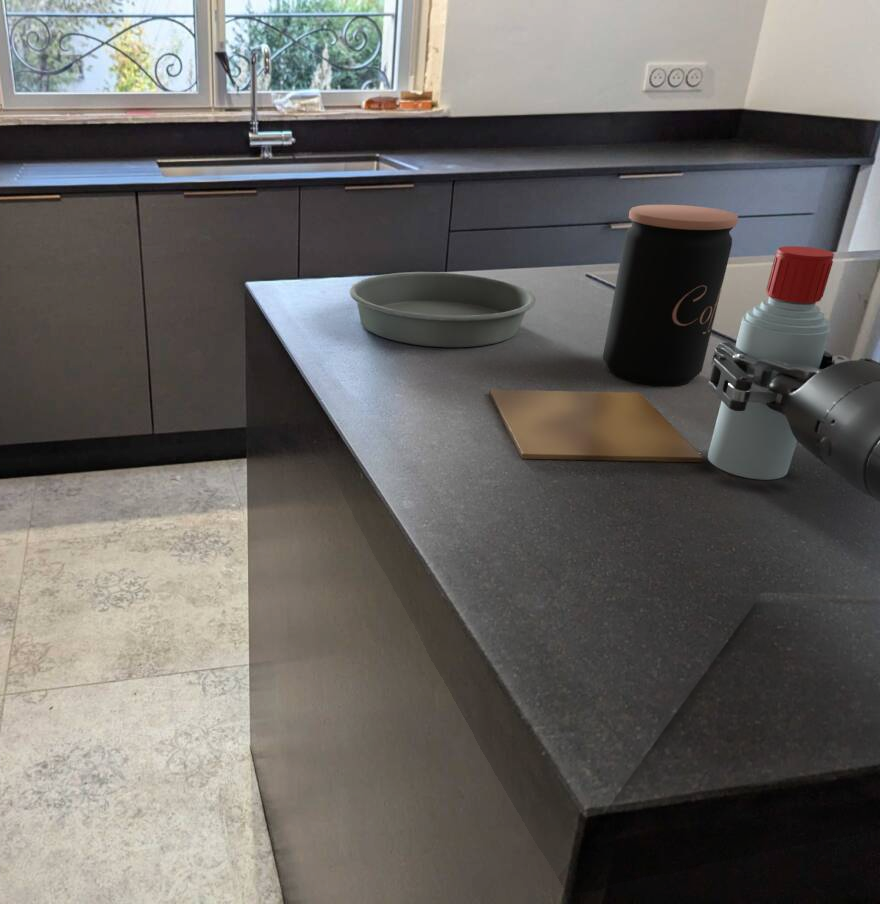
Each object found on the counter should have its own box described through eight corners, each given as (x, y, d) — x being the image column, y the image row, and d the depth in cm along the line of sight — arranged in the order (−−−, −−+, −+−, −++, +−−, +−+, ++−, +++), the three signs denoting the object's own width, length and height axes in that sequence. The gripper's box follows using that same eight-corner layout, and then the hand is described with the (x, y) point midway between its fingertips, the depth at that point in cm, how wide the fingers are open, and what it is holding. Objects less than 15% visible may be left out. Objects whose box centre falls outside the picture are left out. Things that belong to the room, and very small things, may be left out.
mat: (638, 396, 88) (639, 392, 88) (701, 462, 74) (702, 457, 74) (488, 394, 89) (489, 389, 89) (521, 458, 74) (522, 453, 74)
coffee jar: (666, 395, 89) (704, 224, 81) (582, 368, 96) (609, 210, 89) (718, 375, 94) (758, 214, 87) (634, 351, 102) (664, 201, 94)
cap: (804, 290, 69) (817, 246, 67) (831, 303, 65) (845, 256, 64) (756, 290, 69) (767, 245, 67) (780, 302, 65) (793, 256, 64)
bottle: (765, 448, 76) (823, 248, 68) (802, 480, 71) (869, 265, 63) (695, 447, 77) (744, 247, 69) (726, 479, 71) (784, 264, 63)
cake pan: (564, 323, 113) (569, 290, 111) (467, 366, 97) (471, 329, 95) (416, 291, 128) (418, 262, 126) (311, 324, 112) (312, 291, 110)
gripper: (1007, 382, 55) (858, 313, 70) (786, 379, 55) (686, 310, 70) (966, 482, 58) (832, 395, 73) (758, 478, 59) (668, 392, 74)
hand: (761, 354), depth 72 cm, fingers closed on bottle, 6 cm apart
